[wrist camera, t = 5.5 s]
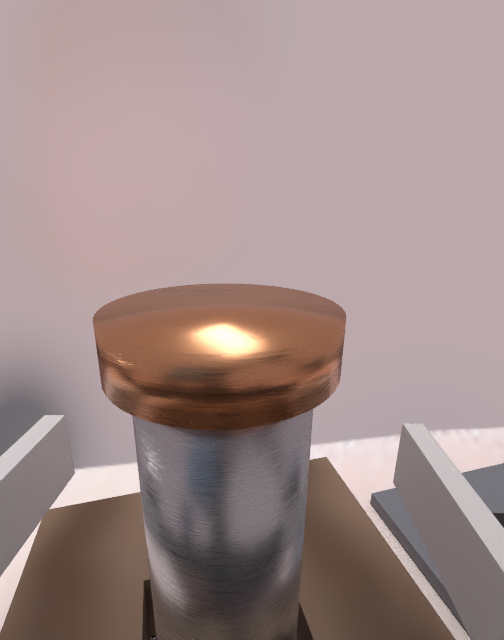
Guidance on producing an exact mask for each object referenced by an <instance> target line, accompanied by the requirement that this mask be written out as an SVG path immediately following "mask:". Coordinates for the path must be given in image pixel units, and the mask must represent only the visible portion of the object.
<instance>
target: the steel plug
mask: <svg viewBox="0 0 504 640" xmlns="http://www.w3.org/2000/svg"><path fill="white" fill-rule="evenodd" d="M93 324H94V333H95V339H96V348H97V354H98V362H99V369H100V377H101V384H102V389H103V391H104V393H105V395H106V397H107V398H108V399H109V400H110V401H111V402H112V403H113V404H114V405H116V406H117V407H118V408H120V409H121V410H123V411H125V412H127V413H129V414H131V415H133V424H134V434H135V443H136V452H137V462H138V471H139V480H140V490H141V499H142V508H143V518H144V527H145V536H146V545H147V555H148V564H149V573H150V583H151V592H152V601H153V610H154V620H155V629H156V638H157V640H296V637H297V624H298V610H299V596H300V582H301V568H302V555H303V541H304V527H305V513H306V499H307V486H308V472H309V458H310V444H311V429H312V417H313V408H315V407H317V406H318V405H320V404H321V403H323V402H324V401H325V400H327V398H329V397H330V396H331V395H332V394H333V392H334V391H335V390H336V388H337V386H338V384H339V381H340V376H341V366H342V356H343V344H344V334H345V325H346V314H345V311H344V310H343V309H342V308H341V307H340V306H339V305H338V304H336V303H335V302H333V301H331V300H329V299H326V298H324V297H321V296H318V295H315V294H312V293H308V292H304V291H299V290H294V289H288V288H282V287H275V286H265V285H252V284H200V285H186V286H176V287H168V288H162V289H155V290H149V291H145V292H140V293H136V294H133V295H129V296H126V297H123V298H120V299H117V300H115V301H112V302H110V303H108V304H107V305H105V306H103V307H102V308H100V309H99V310H98V311H97V312H96V313H95V315H94V317H93Z"/></svg>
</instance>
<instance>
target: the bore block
mask: <svg viewBox="0 0 504 640" xmlns="http://www.w3.org/2000/svg"><path fill="white" fill-rule="evenodd" d="M153 636H156V629H155V620H154V610H153V601H152V592H151V583H150V573H149V564H148V555H147V545H146V536H145V527H144V518H143V508H142V499H141V492H139V493H134V494H128V495H123V496H118V497H112V498H107V499H102V500H97V501H91V502H86V503H81V504H75V505H70V506H65V507H60V508H54V509H49V510H48V511H47V513H46V514H45V515H44V517H43V518H42V521H41V523H40V526H39V529H38V532H37V534H36V537H35V540H34V543H33V545H32V548H31V551H30V553H29V556H28V559H27V562H26V564H25V567H24V570H23V573H22V575H21V578H20V581H19V583H18V586H17V589H16V592H15V594H14V597H13V600H12V603H11V605H10V608H9V611H8V613H7V616H6V619H5V622H4V624H3V627H2V630H1V633H0V640H150V637H153ZM296 640H455V638H454V637H453V635H452V634H451V633H450V631H449V630H448V628H447V627H446V625H445V624H444V623H443V621H442V620H441V618H440V617H439V616H438V614H437V613H436V611H435V610H434V608H433V607H432V606H431V604H430V603H429V601H428V600H427V599H426V597H425V596H424V594H423V593H422V592H421V590H420V589H419V587H418V586H417V584H416V583H415V582H414V580H413V579H412V577H411V576H410V575H409V573H408V572H407V570H406V569H405V567H404V566H403V565H402V563H401V562H400V560H399V559H398V558H397V556H396V555H395V553H394V552H393V551H392V549H391V548H390V546H389V545H388V543H387V542H386V541H385V539H384V538H383V536H382V535H381V534H380V532H379V531H378V529H377V528H376V526H375V525H374V524H373V522H372V521H371V519H370V518H369V517H368V515H367V514H366V512H365V511H364V510H363V508H362V507H361V505H360V504H359V502H358V501H357V500H356V498H355V497H354V495H353V494H352V493H351V491H350V490H349V488H348V487H347V485H346V484H345V483H344V481H343V480H342V478H341V477H340V476H339V474H338V473H337V471H336V470H335V469H334V467H333V466H332V464H331V463H330V461H329V460H328V459H327V457H324V458H318V459H313V460H309V472H308V486H307V499H306V513H305V527H304V541H303V555H302V568H301V582H300V596H299V610H298V624H297V637H296Z"/></svg>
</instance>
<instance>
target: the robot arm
mask: <svg viewBox="0 0 504 640" xmlns="http://www.w3.org/2000/svg"><path fill="white" fill-rule="evenodd" d="M74 474H75V472H74V466H73V461H72V455H71V450H70V444H69V438H68V432H67V427H66V421H65V416H64V415H45V416H44V417H43V418H42V419H40V420H39V421H38V422H37V423H36V424H35V425H34V426H33V427H32V428H31V429H30V430H29V431H28V432H26V433H25V434H24V435H23V436H22V437H21V438H20V439H19V440H18V441H17V442H16V443H15V444H14V445H12V446H11V447H10V448H9V449H8V450H7V451H6V452H5V453H4V454H3V455H2V456H1V457H0V576H1V575H2V574H3V572H4V571H5V569H6V568H7V567H8V565H9V564H10V562H11V561H12V560H13V558H14V557H15V556H16V554H17V553H18V551H19V550H20V549H21V547H22V546H23V544H24V543H25V542H26V540H27V539H28V538H29V536H30V535H31V533H32V532H33V531H34V529H35V528H36V526H37V525H38V524H39V522H40V521H41V519H42V518H43V517H44V515H45V514H46V513H47V511H48V510H49V508H50V507H51V506H52V504H53V503H54V501H55V500H56V499H57V497H58V496H59V494H60V493H61V492H62V490H63V489H64V488H65V486H66V485H67V483H68V482H69V481H70V479H71V478H72V476H73V475H74ZM393 482H394V484H395V487H396V489H397V491H398V493H399V495H400V497H401V499H402V501H403V503H404V505H405V507H406V509H407V511H408V513H409V515H410V517H411V519H412V521H413V523H414V525H415V527H416V529H417V531H418V533H419V535H420V537H421V539H422V541H423V543H424V545H425V547H426V549H427V551H428V553H429V555H430V557H431V559H432V561H433V563H434V565H435V567H436V569H437V571H438V573H439V576H440V578H441V580H442V582H443V584H444V586H445V588H446V590H447V592H448V594H449V596H450V598H451V600H452V602H453V604H454V606H455V608H456V610H457V612H458V614H459V616H460V618H461V620H462V622H463V624H464V626H465V628H466V630H467V632H468V634H469V636H470V638H471V640H504V513H492V512H491V511H490V510H489V509H488V507H487V506H486V505H485V503H484V502H483V501H482V499H481V498H480V497H479V496H478V494H477V493H476V492H475V490H474V489H473V488H472V487H471V485H470V484H469V483H468V481H467V480H466V479H465V477H464V476H463V475H462V474H461V472H460V471H459V470H458V468H457V467H456V466H455V465H454V463H453V462H452V461H451V459H450V458H449V457H448V456H447V454H446V453H445V452H444V450H443V449H442V448H441V446H440V445H439V444H438V443H437V441H436V440H435V439H434V437H433V436H432V435H431V434H430V432H429V431H428V430H427V428H426V427H425V426H424V425H423V424H409V423H403V425H402V431H401V437H400V443H399V449H398V456H397V462H396V468H395V474H394V480H393Z"/></svg>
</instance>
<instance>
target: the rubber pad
mask: <svg viewBox="0 0 504 640" xmlns="http://www.w3.org/2000/svg"><path fill="white" fill-rule="evenodd" d="M461 474H462V475H463V476H464V477H465V479H466V480H467V481H468V483H469V484H470V485H471V487H472V488H473V489H474V490H475V492H476V493H477V494H478V496H479V497H480V498H481V499H482V501H483V502H484V503H485V505H486V506H487V507H488V509H489V510H490V511H491V512H492V513H504V463H503V464H499V465H494V466H490V467H486V468H481V469H477V470H473V471H468V472H464V473H461ZM371 505H372V506H373V507H374V509H375V510H376V511H377V513H378V514H379V515H380V517H381V518H382V519H383V521H384V522H385V523H386V525H387V526H388V527H389V529H390V530H391V531H392V533H393V534H394V535H395V537H396V538H397V539H398V541H399V542H400V543H401V545H402V546H403V547H404V549H405V550H406V551H407V553H408V554H409V555H410V557H411V558H412V559H413V561H414V562H415V564H416V565H417V566H418V568H419V569H420V570H421V572H422V573H423V574H424V576H425V577H426V578H427V580H428V581H429V582H430V584H431V585H432V586H433V588H434V589H435V590H436V592H437V593H438V594H439V596H440V597H441V598H442V600H443V601H444V602H445V604H446V605H447V606H448V608H449V609H450V610H451V612H452V613H453V614H454V616H455V617H456V618H457V620H458V621H459V622H460V624H461V625H462V626H463V628H464V629H465V630H466V628H465V626H464V624H463V622H462V620H461V618H460V616H459V614H458V612H457V610H456V608H455V606H454V604H453V602H452V600H451V598H450V596H449V594H448V592H447V590H446V588H445V586H444V584H443V582H442V580H441V578H440V576H439V573H438V571H437V569H436V567H435V565H434V563H433V561H432V559H431V557H430V555H429V553H428V551H427V549H426V547H425V545H424V543H423V541H422V539H421V537H420V535H419V533H418V531H417V529H416V527H415V525H414V523H413V521H412V519H411V517H410V515H409V513H408V511H407V509H406V507H405V505H404V503H403V501H402V499H401V497H400V495H399V493H398V491H397V489H396V488H394V489H389V490H385V491H381V492H376V493H372V496H371ZM466 632H467V630H466ZM467 633H468V632H467Z"/></svg>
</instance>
